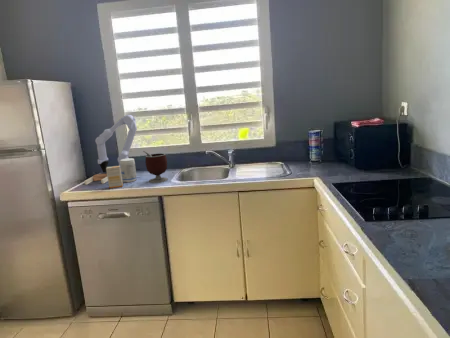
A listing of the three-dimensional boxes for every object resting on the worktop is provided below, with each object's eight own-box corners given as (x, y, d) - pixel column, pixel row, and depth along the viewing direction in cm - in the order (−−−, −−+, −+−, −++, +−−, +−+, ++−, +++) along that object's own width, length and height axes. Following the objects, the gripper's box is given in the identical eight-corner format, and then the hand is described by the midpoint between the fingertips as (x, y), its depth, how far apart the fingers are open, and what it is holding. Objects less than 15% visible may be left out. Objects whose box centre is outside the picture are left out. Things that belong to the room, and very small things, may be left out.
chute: (94, 179, 254) (94, 175, 254) (112, 177, 253) (111, 174, 253) (84, 184, 239) (84, 181, 238) (103, 183, 238) (103, 179, 237)
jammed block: (96, 179, 253) (95, 174, 252) (108, 178, 252) (108, 173, 251) (93, 180, 248) (92, 175, 247) (106, 180, 247) (105, 175, 246)
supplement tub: (119, 181, 241) (116, 160, 238) (132, 178, 247) (129, 157, 244) (127, 183, 234) (124, 161, 231) (139, 180, 241) (137, 158, 238)
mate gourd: (172, 177, 239) (169, 148, 235) (163, 183, 227) (159, 152, 222) (152, 177, 244) (148, 149, 240) (141, 183, 231) (137, 152, 227)
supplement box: (123, 185, 229) (120, 165, 226) (122, 187, 224) (119, 166, 222) (110, 186, 228) (107, 166, 225) (108, 188, 223) (105, 168, 221)
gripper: (100, 151, 262) (103, 170, 264) (92, 155, 247) (95, 174, 250) (110, 151, 261) (112, 169, 264) (102, 154, 247) (105, 173, 250)
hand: (104, 171), depth 257 cm, fingers closed
